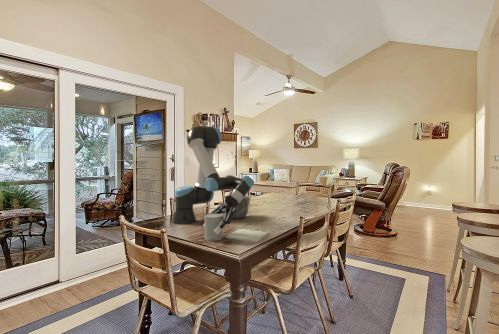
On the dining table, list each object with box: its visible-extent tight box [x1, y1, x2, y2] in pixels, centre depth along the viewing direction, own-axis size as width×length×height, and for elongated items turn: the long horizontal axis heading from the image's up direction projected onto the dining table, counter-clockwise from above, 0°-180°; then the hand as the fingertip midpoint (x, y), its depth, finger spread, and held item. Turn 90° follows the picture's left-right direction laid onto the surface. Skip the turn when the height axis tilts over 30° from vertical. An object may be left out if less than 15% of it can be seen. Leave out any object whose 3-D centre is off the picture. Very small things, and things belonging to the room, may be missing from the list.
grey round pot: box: [224, 194, 250, 219], centre depth 196 cm, size 18×18×15 cm
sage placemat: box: [225, 228, 269, 243], centre depth 152 cm, size 18×16×1 cm
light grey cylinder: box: [204, 213, 223, 242], centre depth 149 cm, size 10×10×12 cm
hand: (209, 229), depth 148 cm, fingers open, 13 cm apart
